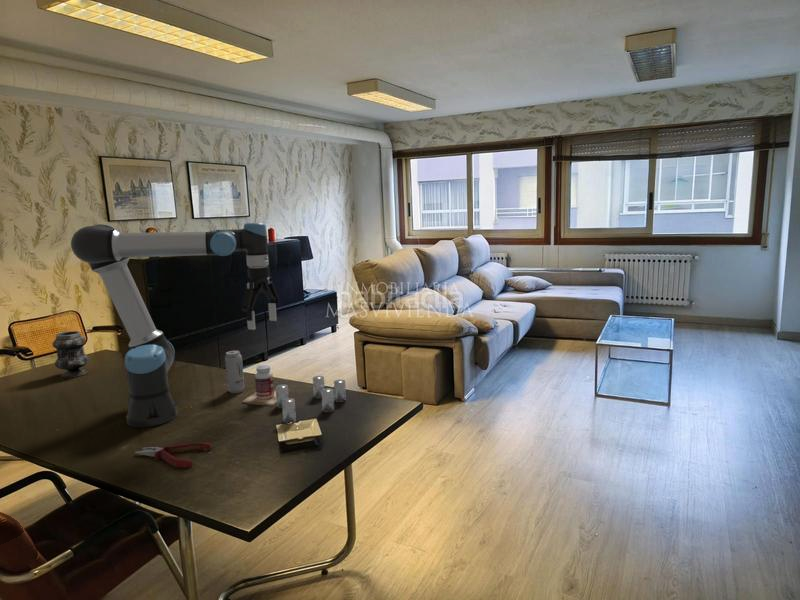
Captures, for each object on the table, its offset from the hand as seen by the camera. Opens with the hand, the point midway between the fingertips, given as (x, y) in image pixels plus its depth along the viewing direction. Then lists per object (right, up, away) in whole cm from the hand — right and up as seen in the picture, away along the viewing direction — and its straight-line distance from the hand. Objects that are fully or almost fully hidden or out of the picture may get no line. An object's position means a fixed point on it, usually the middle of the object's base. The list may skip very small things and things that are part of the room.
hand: (262, 324), depth 188 cm
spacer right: (+26, -28, -15) cm, 41 cm away
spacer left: (+10, -27, -10) cm, 31 cm away
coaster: (+2, -26, -3) cm, 26 cm away
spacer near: (+15, -30, -23) cm, 40 cm away
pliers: (-13, -35, -42) cm, 56 cm away
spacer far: (+21, -26, -2) cm, 33 cm away
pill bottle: (+2, -26, -3) cm, 26 cm away
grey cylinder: (+29, -26, -6) cm, 40 cm away
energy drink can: (-11, -25, +5) cm, 28 cm away
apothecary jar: (-87, -23, +30) cm, 95 cm away
